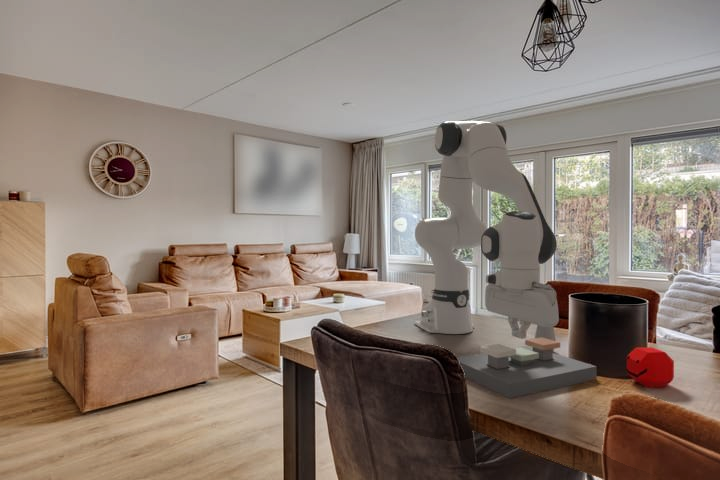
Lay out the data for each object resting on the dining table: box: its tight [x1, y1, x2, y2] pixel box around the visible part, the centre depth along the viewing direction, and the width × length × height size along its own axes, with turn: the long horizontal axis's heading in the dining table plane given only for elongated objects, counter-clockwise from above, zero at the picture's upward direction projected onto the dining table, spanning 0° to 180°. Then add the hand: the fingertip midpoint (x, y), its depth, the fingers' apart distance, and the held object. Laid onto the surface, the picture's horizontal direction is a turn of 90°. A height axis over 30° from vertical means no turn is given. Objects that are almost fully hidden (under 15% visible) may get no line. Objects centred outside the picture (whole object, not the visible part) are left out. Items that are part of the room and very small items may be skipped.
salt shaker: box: [534, 325, 557, 352], centre depth 121 cm, size 6×6×13 cm
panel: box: [456, 345, 598, 399], centre depth 102 cm, size 20×26×3 cm
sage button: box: [508, 346, 539, 365], centre depth 102 cm, size 6×6×4 cm
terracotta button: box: [524, 337, 561, 361], centre depth 105 cm, size 6×6×4 cm
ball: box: [626, 346, 675, 388], centre depth 95 cm, size 8×8×8 cm
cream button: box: [479, 343, 516, 369], centre depth 99 cm, size 6×6×4 cm
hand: (518, 337), depth 102 cm, fingers closed
